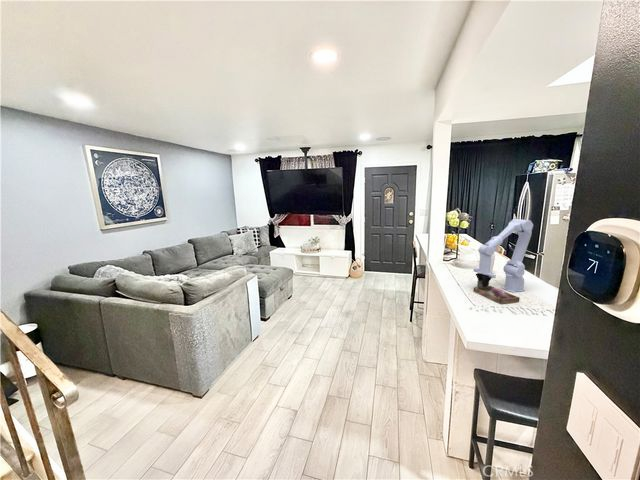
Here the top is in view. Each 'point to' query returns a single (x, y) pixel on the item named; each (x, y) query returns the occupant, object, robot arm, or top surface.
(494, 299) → the sliding frame
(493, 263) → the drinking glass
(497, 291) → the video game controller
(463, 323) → the top surface
